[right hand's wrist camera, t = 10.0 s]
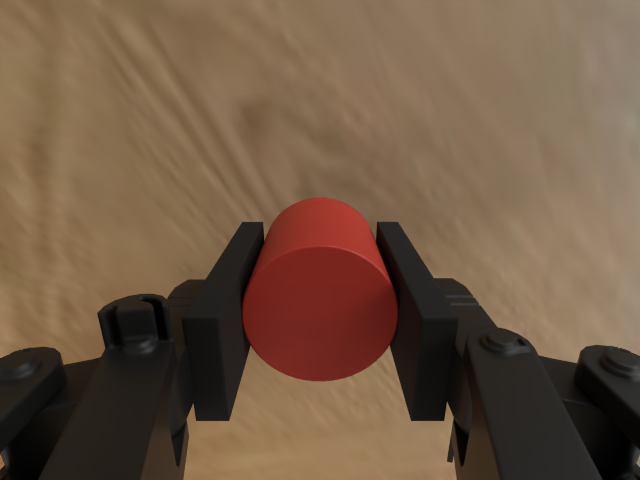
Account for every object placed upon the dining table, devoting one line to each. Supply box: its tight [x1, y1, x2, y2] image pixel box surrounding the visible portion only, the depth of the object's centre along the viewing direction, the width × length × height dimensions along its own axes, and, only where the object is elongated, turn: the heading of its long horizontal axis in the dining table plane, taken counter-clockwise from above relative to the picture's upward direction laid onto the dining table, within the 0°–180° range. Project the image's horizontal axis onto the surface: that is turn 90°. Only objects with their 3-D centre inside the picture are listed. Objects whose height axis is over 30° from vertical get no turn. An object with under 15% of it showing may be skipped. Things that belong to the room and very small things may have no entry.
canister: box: [241, 198, 399, 381], centre depth 12 cm, size 4×4×5 cm
